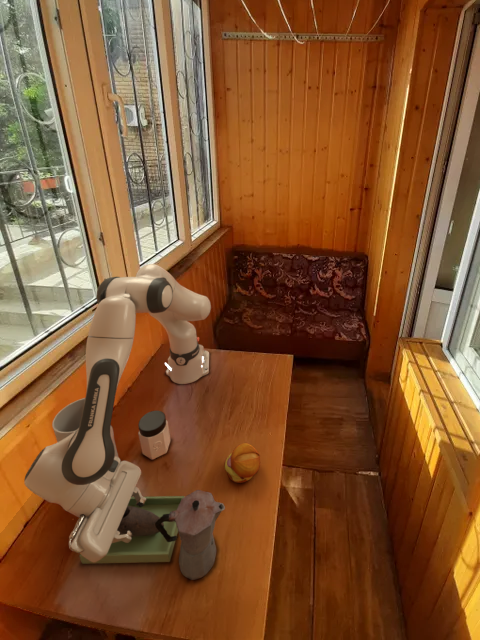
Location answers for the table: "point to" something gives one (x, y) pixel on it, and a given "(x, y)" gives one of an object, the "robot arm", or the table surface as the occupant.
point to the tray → (146, 546)
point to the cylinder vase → (70, 421)
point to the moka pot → (194, 532)
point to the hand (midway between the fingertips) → (137, 520)
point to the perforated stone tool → (138, 522)
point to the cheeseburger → (242, 463)
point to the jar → (154, 434)
